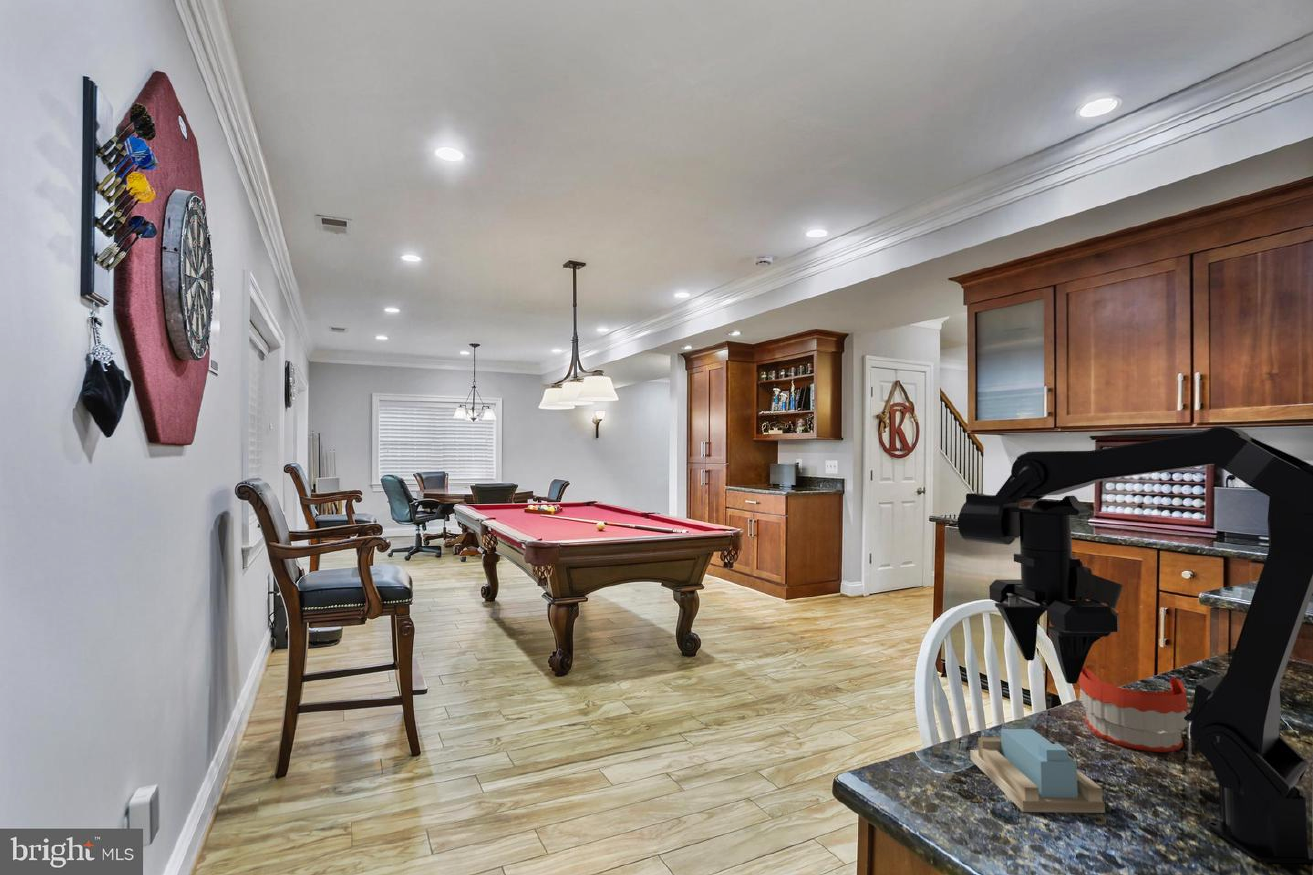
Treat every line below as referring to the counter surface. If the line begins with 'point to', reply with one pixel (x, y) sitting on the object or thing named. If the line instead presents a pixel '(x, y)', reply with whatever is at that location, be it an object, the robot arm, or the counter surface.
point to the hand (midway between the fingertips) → (1049, 670)
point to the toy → (1135, 714)
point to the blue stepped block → (1041, 762)
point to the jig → (1025, 789)
